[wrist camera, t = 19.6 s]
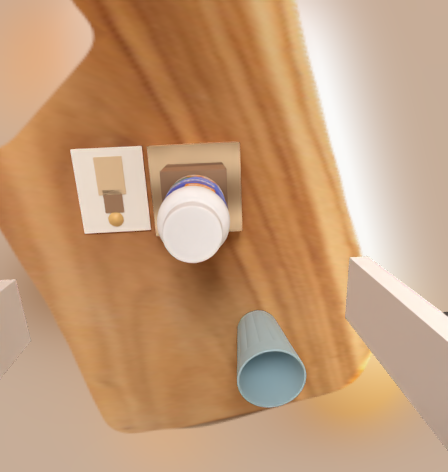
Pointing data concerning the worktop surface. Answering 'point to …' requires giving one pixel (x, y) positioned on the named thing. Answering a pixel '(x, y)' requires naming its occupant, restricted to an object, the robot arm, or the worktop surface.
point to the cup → (267, 362)
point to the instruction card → (111, 189)
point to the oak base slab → (199, 154)
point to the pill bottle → (193, 219)
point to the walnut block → (178, 171)
